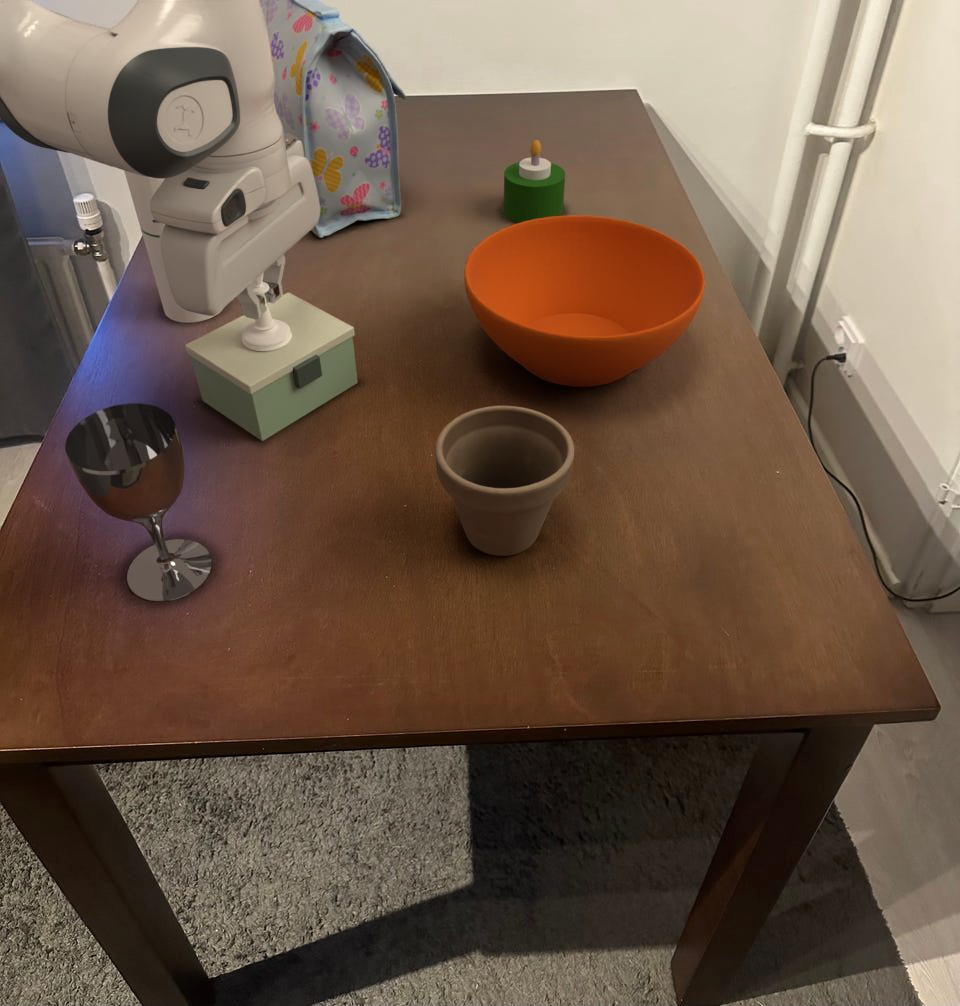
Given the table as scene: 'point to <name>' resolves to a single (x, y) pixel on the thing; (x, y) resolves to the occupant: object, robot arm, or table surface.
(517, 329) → the bowl
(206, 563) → the wine glass
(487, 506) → the flower pot
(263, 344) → the chess piece
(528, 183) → the candle
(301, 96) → the lunch bag
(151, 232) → the cylindrical container
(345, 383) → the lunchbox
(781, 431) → the table surface
